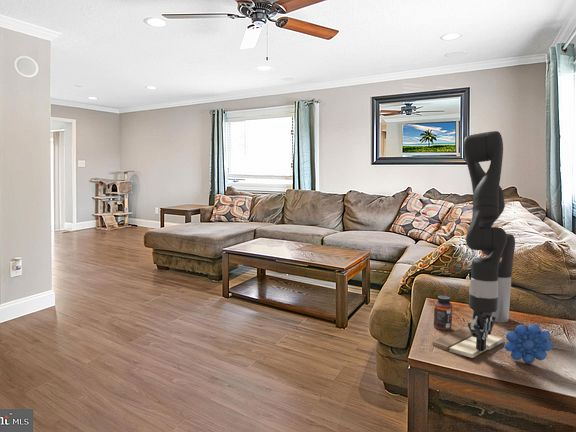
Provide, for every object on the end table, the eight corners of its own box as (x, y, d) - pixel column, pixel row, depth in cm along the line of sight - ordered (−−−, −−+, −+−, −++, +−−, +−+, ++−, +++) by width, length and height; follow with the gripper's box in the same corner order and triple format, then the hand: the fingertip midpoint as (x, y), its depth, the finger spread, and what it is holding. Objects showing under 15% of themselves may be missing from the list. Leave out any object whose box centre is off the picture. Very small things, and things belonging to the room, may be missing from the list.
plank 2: (481, 335, 124) (481, 331, 124) (503, 341, 118) (503, 337, 118) (466, 342, 118) (466, 339, 118) (489, 349, 112) (489, 346, 112)
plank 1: (465, 343, 118) (465, 339, 118) (488, 348, 112) (488, 344, 112) (449, 351, 112) (449, 347, 112) (472, 357, 106) (472, 353, 106)
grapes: (549, 362, 106) (552, 322, 104) (552, 372, 100) (555, 330, 99) (503, 352, 112) (505, 314, 110) (503, 361, 106) (506, 322, 105)
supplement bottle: (453, 331, 126) (454, 300, 125) (435, 330, 128) (436, 299, 127) (449, 325, 132) (450, 295, 131) (431, 323, 133) (433, 294, 132)
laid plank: (464, 329, 128) (464, 326, 128) (479, 334, 124) (480, 331, 124) (432, 344, 116) (432, 341, 116) (448, 351, 112) (448, 347, 112)
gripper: (481, 287, 114) (478, 340, 116) (459, 294, 106) (457, 351, 108) (506, 292, 108) (503, 348, 110) (486, 300, 100) (483, 360, 102)
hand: (480, 349), depth 109 cm, fingers closed
